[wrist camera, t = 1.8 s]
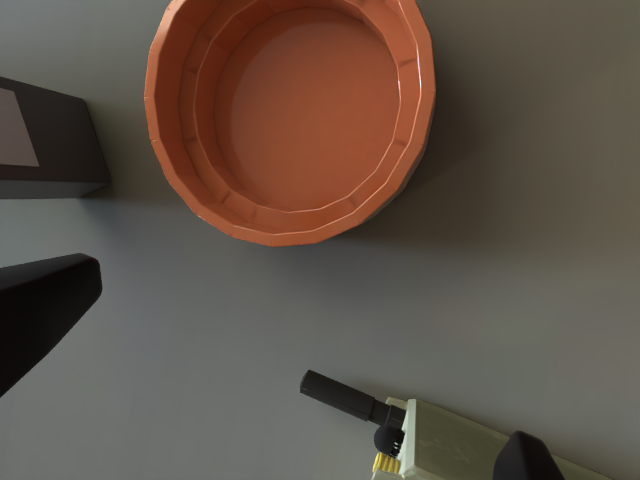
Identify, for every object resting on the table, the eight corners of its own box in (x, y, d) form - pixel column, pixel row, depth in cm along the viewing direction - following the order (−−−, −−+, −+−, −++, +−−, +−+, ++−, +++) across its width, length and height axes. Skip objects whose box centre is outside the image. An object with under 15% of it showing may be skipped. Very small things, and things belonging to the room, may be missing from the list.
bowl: (299, 283, 23) (270, 304, 19) (155, 114, 24) (96, 97, 20) (491, 113, 20) (509, 90, 15) (312, -75, 21) (282, -145, 17)
